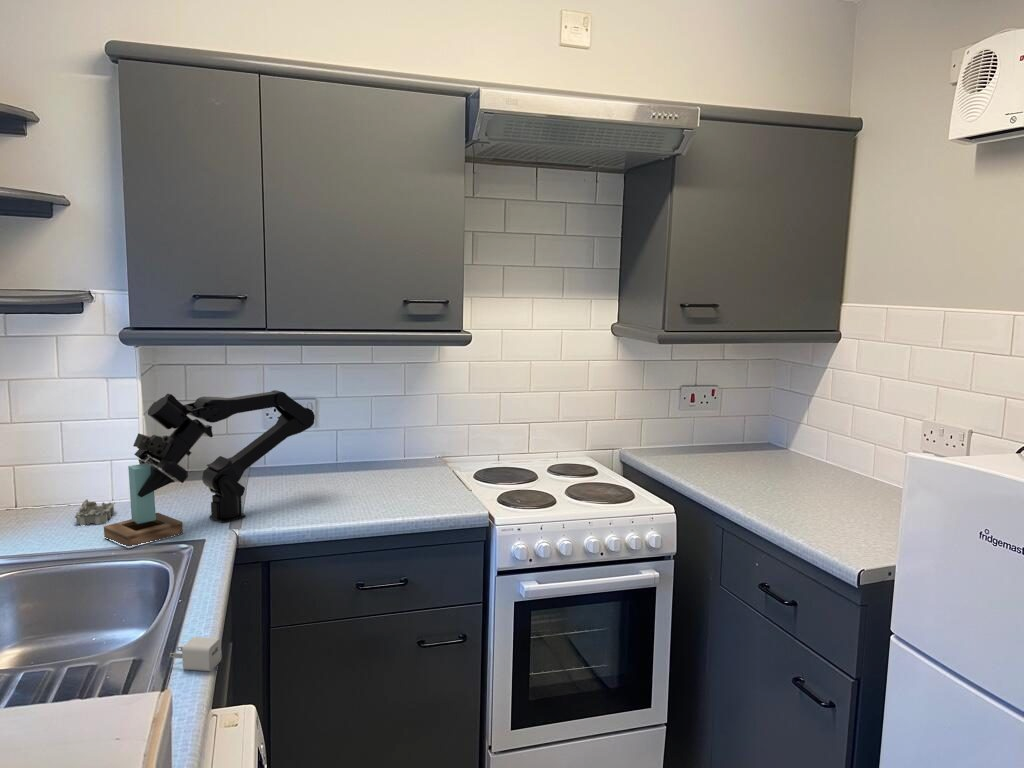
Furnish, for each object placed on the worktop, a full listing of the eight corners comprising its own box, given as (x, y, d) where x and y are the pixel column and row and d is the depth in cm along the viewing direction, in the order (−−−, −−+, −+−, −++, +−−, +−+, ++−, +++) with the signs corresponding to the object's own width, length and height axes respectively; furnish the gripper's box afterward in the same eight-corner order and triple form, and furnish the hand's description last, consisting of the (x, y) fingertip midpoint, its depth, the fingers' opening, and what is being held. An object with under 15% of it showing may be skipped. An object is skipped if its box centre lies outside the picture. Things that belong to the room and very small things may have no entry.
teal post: (149, 515, 175) (146, 463, 173) (155, 520, 172) (152, 466, 171) (131, 519, 172) (128, 466, 170) (137, 523, 170) (134, 469, 168)
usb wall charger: (209, 673, 115) (208, 649, 114) (167, 670, 115) (166, 646, 115) (221, 660, 119) (220, 636, 118) (180, 657, 119) (179, 634, 119)
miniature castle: (86, 514, 189) (85, 498, 188) (118, 512, 191) (117, 497, 190) (71, 527, 179) (70, 511, 178) (105, 525, 180) (104, 509, 180)
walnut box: (158, 524, 181) (158, 512, 181) (183, 533, 175) (182, 521, 175) (104, 538, 171) (103, 526, 170) (128, 549, 165) (127, 536, 164)
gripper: (141, 415, 178) (94, 467, 172) (171, 426, 165) (121, 483, 159) (176, 441, 185) (132, 492, 179) (207, 455, 172) (161, 510, 166)
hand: (135, 494), depth 170 cm, fingers closed on teal post, 4 cm apart
